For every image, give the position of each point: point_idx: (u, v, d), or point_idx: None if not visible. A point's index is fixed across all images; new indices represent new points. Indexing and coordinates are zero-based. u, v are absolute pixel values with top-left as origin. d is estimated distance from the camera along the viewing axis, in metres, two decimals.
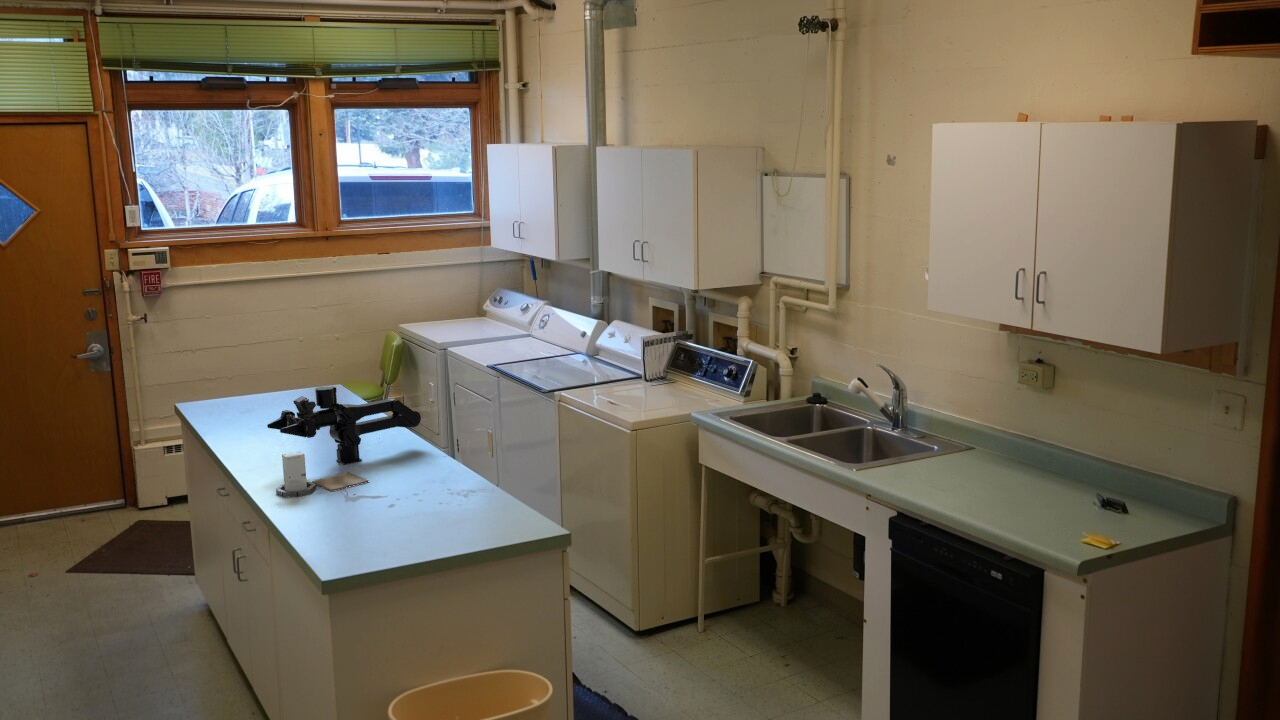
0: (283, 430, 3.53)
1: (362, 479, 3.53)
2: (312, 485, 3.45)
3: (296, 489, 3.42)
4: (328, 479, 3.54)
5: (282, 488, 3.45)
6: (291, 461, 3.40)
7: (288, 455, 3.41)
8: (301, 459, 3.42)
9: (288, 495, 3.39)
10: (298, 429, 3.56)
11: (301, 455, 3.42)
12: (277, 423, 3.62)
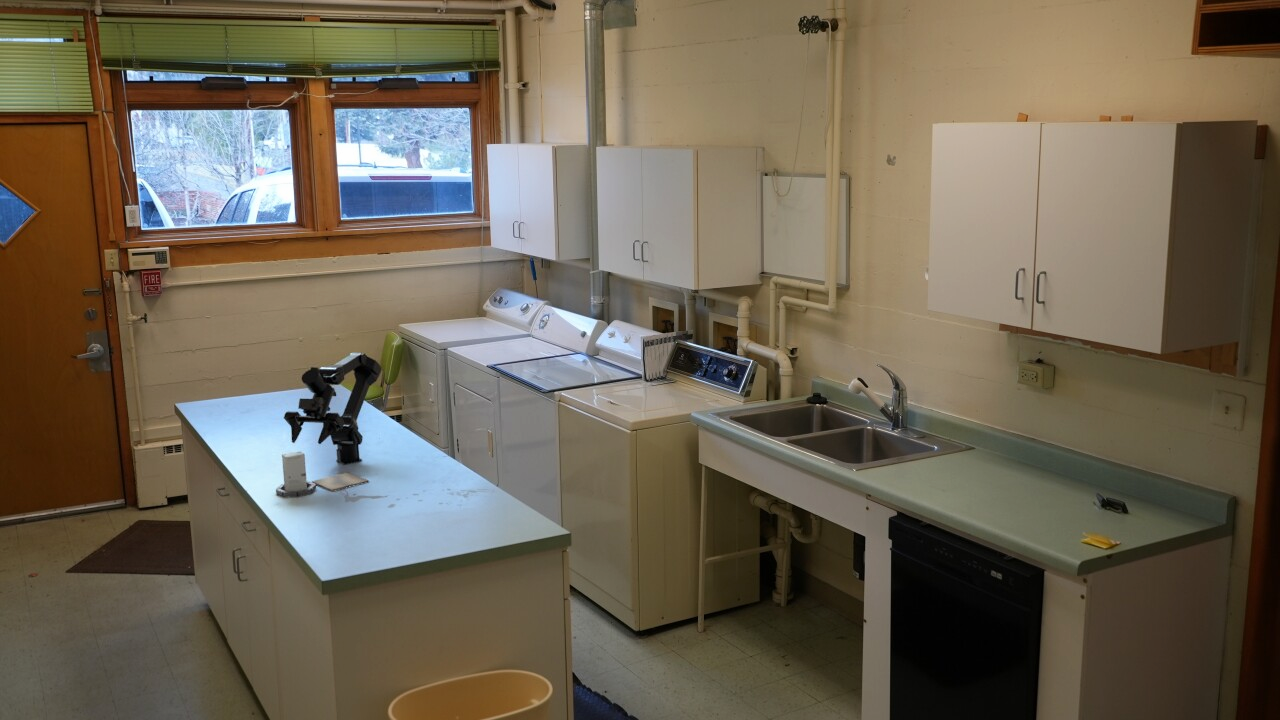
0: (320, 440, 3.49)
1: (362, 479, 3.53)
2: (312, 485, 3.45)
3: (296, 489, 3.42)
4: (328, 479, 3.54)
5: (282, 488, 3.45)
6: (291, 461, 3.40)
7: (288, 455, 3.41)
8: (301, 459, 3.42)
9: (288, 495, 3.39)
10: (328, 429, 3.52)
11: (301, 455, 3.42)
12: (295, 432, 3.52)
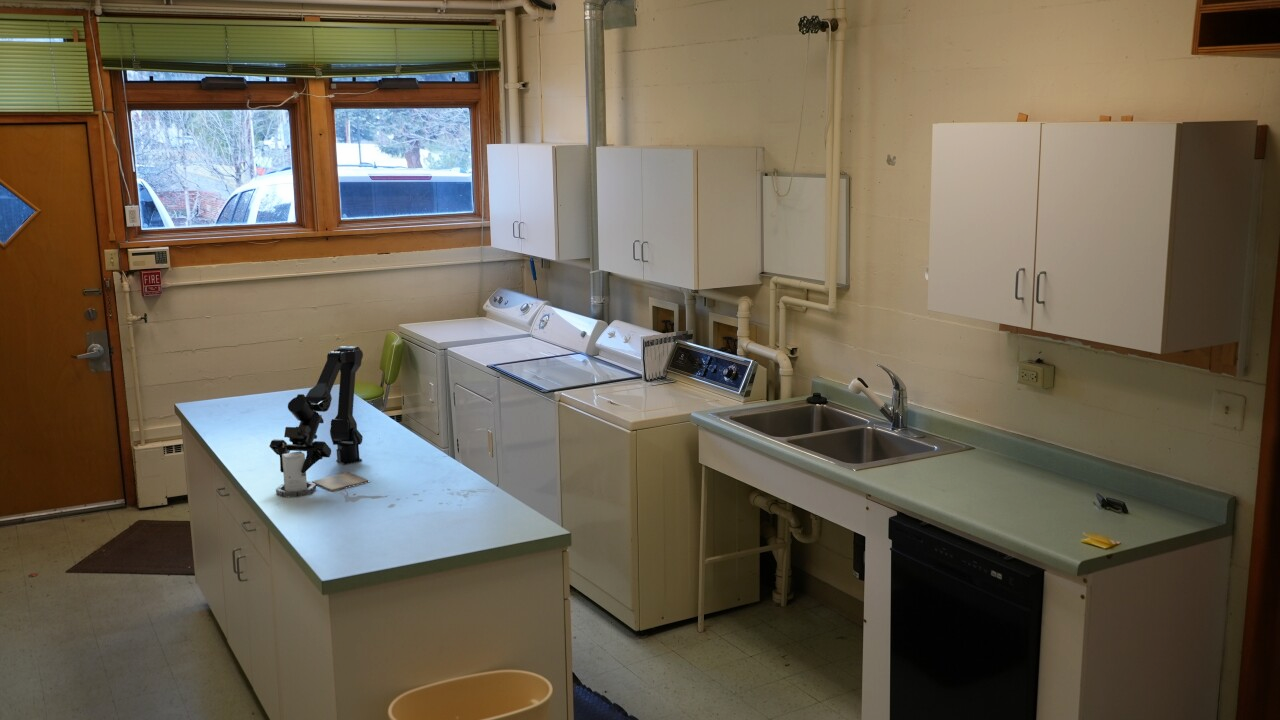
0: (304, 470, 3.41)
1: (362, 479, 3.53)
2: (312, 485, 3.45)
3: (296, 489, 3.42)
4: (328, 479, 3.54)
5: (282, 488, 3.45)
6: (291, 461, 3.40)
7: (288, 455, 3.41)
8: (301, 459, 3.42)
9: (288, 495, 3.39)
10: (312, 457, 3.44)
11: (301, 455, 3.42)
12: None
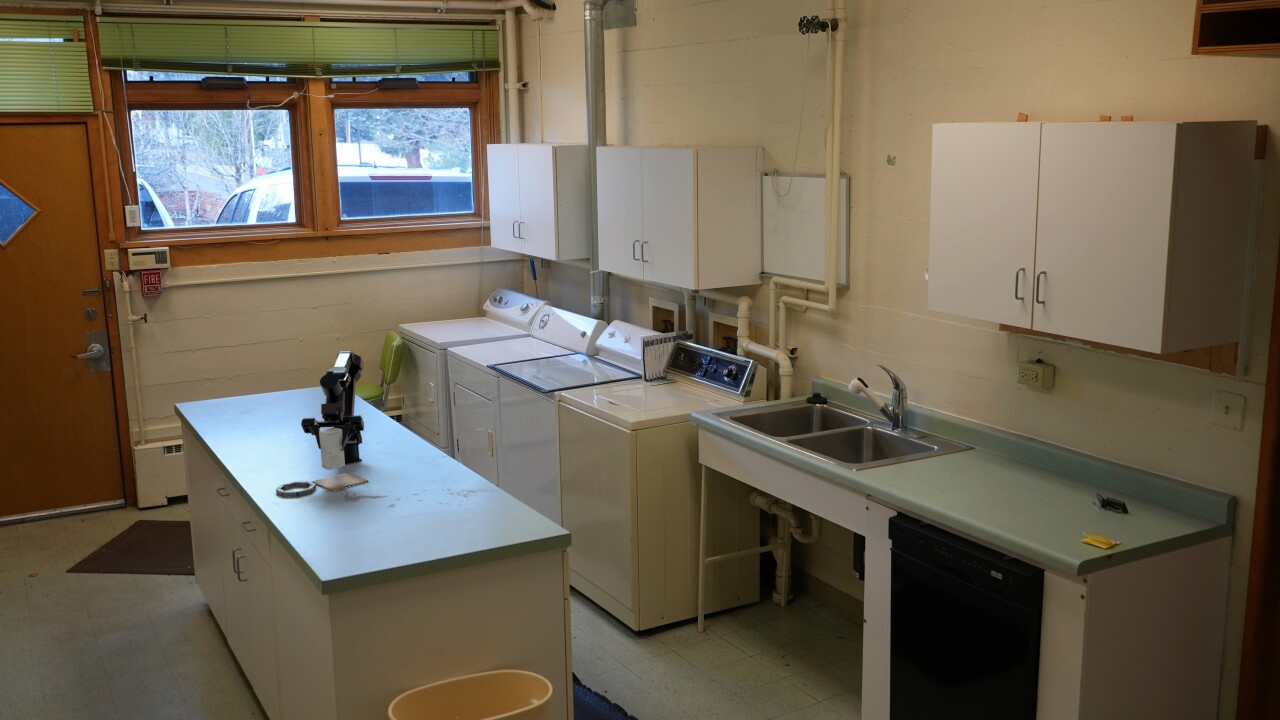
0: (344, 444, 3.48)
1: (362, 479, 3.53)
2: (312, 485, 3.45)
3: (336, 464, 3.49)
4: (328, 479, 3.54)
5: (282, 488, 3.45)
6: (331, 436, 3.46)
7: (327, 431, 3.46)
8: (340, 434, 3.49)
9: (288, 495, 3.39)
10: (347, 432, 3.52)
11: (339, 430, 3.48)
12: None
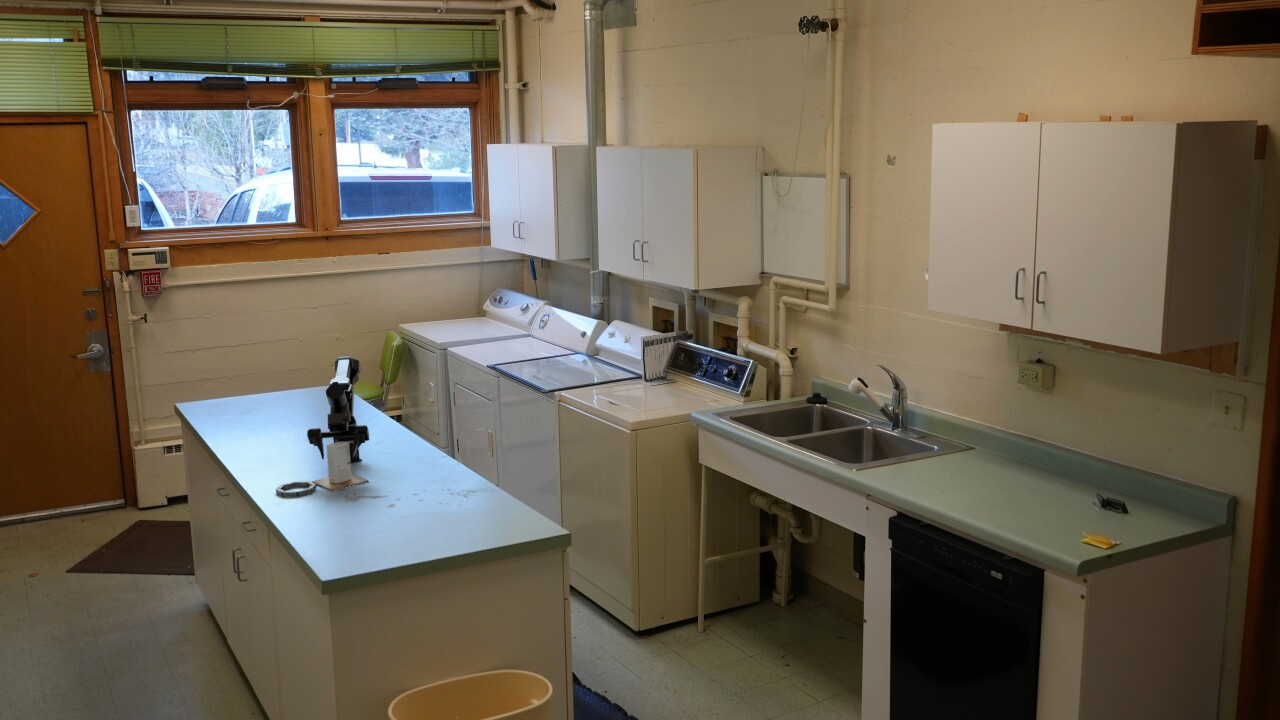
0: (354, 453, 3.51)
1: (362, 479, 3.53)
2: (312, 485, 3.45)
3: (344, 478, 3.51)
4: (328, 479, 3.54)
5: (282, 488, 3.45)
6: (339, 450, 3.49)
7: (335, 445, 3.49)
8: (347, 447, 3.51)
9: (288, 495, 3.39)
10: None
11: (347, 444, 3.51)
12: None
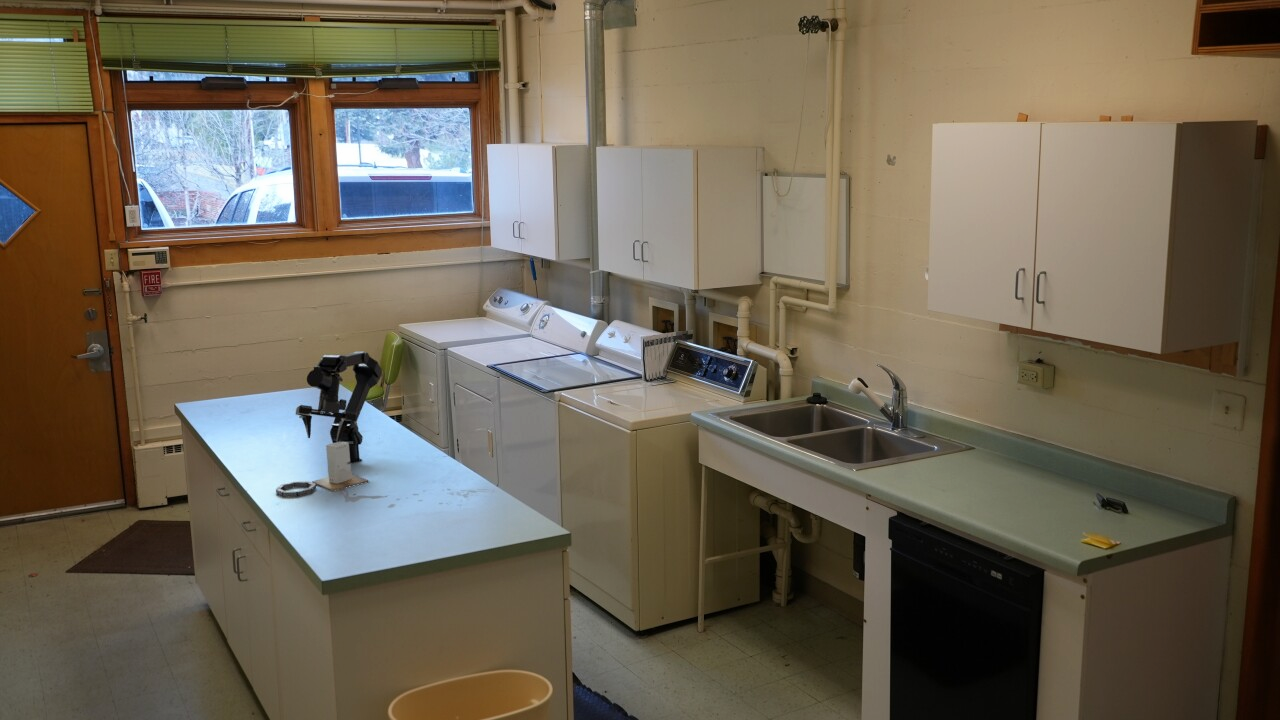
0: (339, 438, 3.62)
1: (362, 479, 3.53)
2: (312, 485, 3.45)
3: (344, 478, 3.51)
4: (328, 479, 3.54)
5: (282, 488, 3.45)
6: (339, 450, 3.49)
7: (335, 445, 3.49)
8: (346, 447, 3.51)
9: (288, 495, 3.39)
10: None
11: (346, 444, 3.51)
12: None
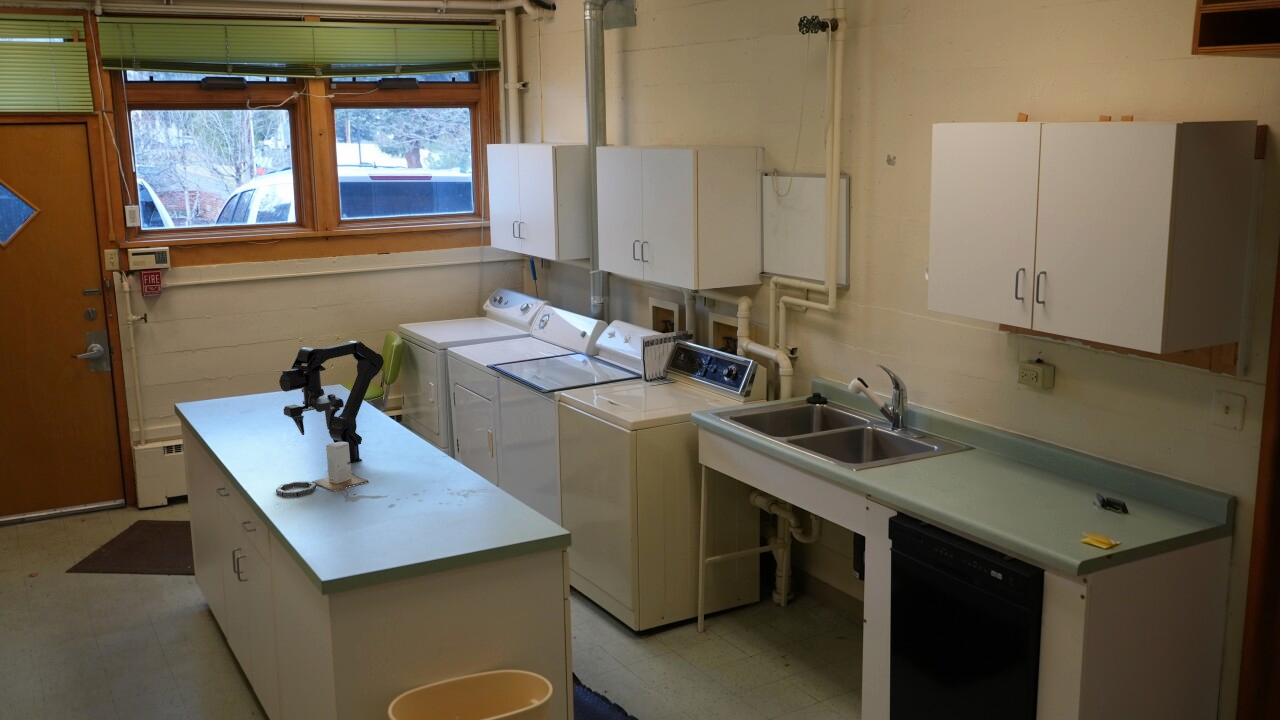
0: None
1: (362, 479, 3.53)
2: (312, 485, 3.45)
3: (344, 478, 3.51)
4: (328, 479, 3.54)
5: (282, 488, 3.45)
6: (339, 450, 3.49)
7: (335, 445, 3.49)
8: (346, 447, 3.51)
9: (288, 495, 3.39)
10: None
11: (346, 444, 3.51)
12: None
